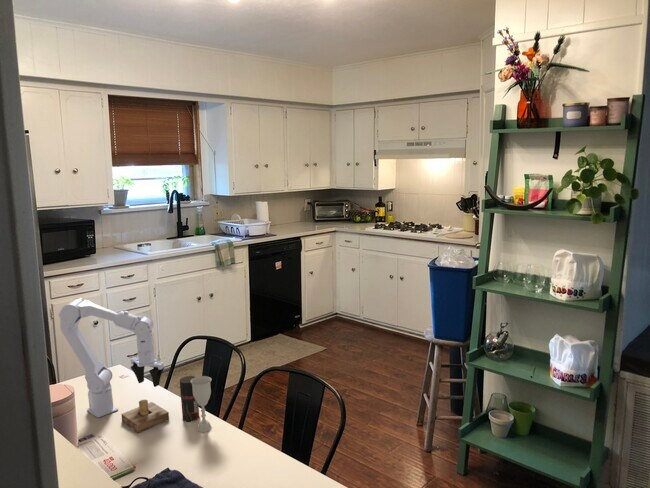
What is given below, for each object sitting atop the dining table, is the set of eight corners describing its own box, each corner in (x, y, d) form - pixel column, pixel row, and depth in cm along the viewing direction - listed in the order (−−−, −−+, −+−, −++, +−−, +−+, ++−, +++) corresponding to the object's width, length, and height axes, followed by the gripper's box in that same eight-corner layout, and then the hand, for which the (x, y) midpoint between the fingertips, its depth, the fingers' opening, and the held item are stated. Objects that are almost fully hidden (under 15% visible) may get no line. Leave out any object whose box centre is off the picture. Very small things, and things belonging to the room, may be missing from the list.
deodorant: (195, 422, 188) (192, 383, 186) (179, 421, 190) (176, 382, 187) (202, 414, 194) (199, 376, 191) (187, 413, 195) (184, 375, 193)
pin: (139, 419, 190) (137, 401, 189) (147, 416, 192) (145, 398, 191) (142, 422, 188) (141, 404, 187) (150, 419, 190) (149, 401, 189)
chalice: (218, 424, 186) (215, 377, 183) (208, 434, 180) (204, 385, 177) (200, 421, 189) (197, 375, 185) (190, 431, 182) (186, 383, 179)
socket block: (122, 421, 190) (121, 413, 190) (152, 409, 199) (151, 401, 198) (138, 432, 182) (137, 425, 182) (169, 419, 191) (168, 411, 190)
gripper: (123, 350, 195) (126, 384, 197) (152, 356, 189) (155, 391, 191) (137, 344, 201) (140, 377, 204) (166, 349, 195) (169, 383, 197)
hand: (148, 383), depth 198 cm, fingers open, 7 cm apart
